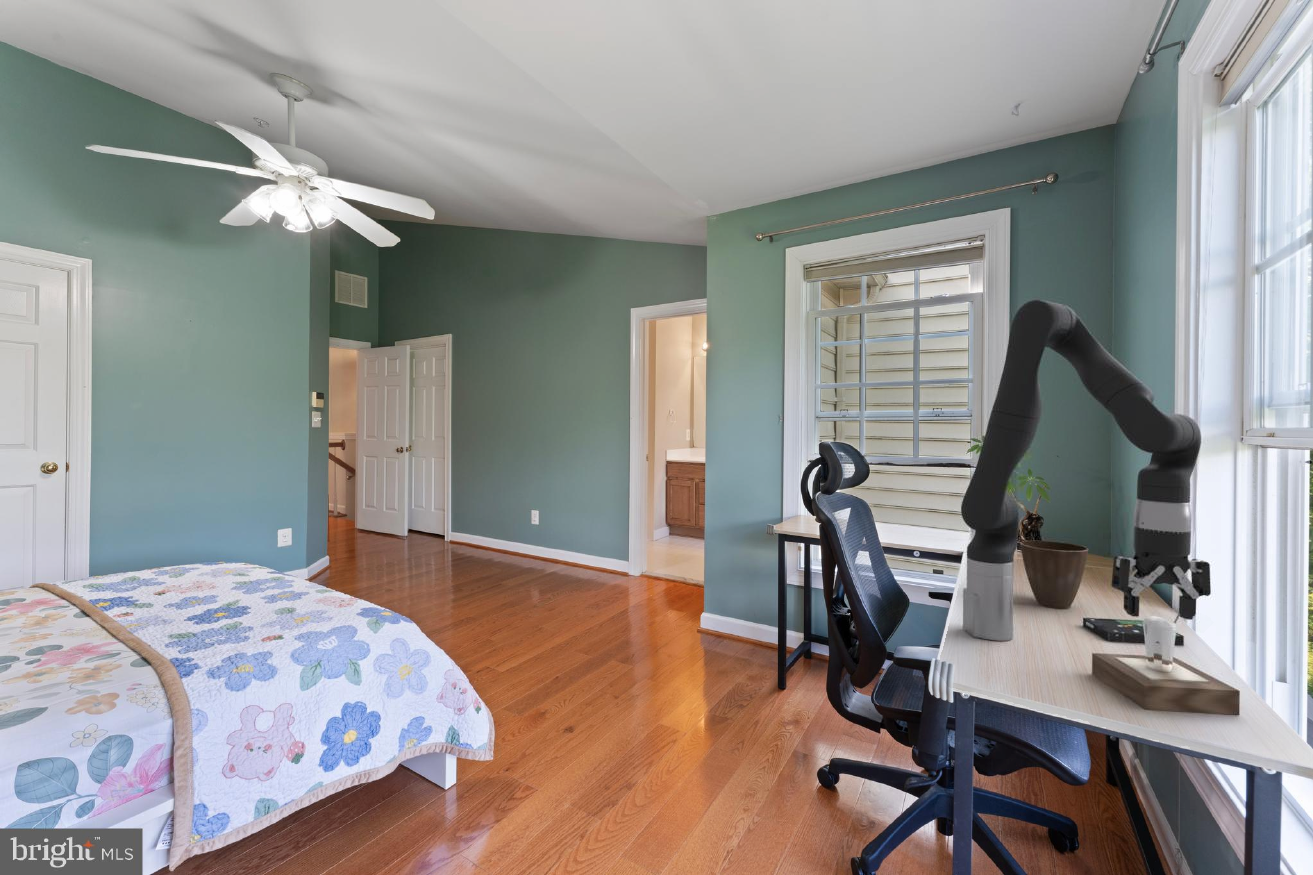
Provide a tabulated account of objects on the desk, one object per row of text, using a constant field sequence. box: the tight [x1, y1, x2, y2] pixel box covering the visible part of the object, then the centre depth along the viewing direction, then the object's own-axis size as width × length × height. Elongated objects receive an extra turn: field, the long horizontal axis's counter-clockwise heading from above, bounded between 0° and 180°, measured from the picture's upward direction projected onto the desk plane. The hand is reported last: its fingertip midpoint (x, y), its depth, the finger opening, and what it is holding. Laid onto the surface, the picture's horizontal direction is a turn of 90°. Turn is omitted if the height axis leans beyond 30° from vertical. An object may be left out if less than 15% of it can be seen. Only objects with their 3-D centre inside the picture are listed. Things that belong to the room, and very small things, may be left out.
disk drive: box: [1082, 617, 1185, 647], centre depth 128 cm, size 10×3×15 cm
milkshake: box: [1142, 613, 1180, 672], centre depth 100 cm, size 4×5×10 cm
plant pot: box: [1020, 540, 1089, 610], centre depth 151 cm, size 15×15×16 cm
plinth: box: [1091, 652, 1241, 716], centre depth 100 cm, size 14×14×4 cm
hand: (1159, 616), depth 100 cm, fingers open, 8 cm apart
